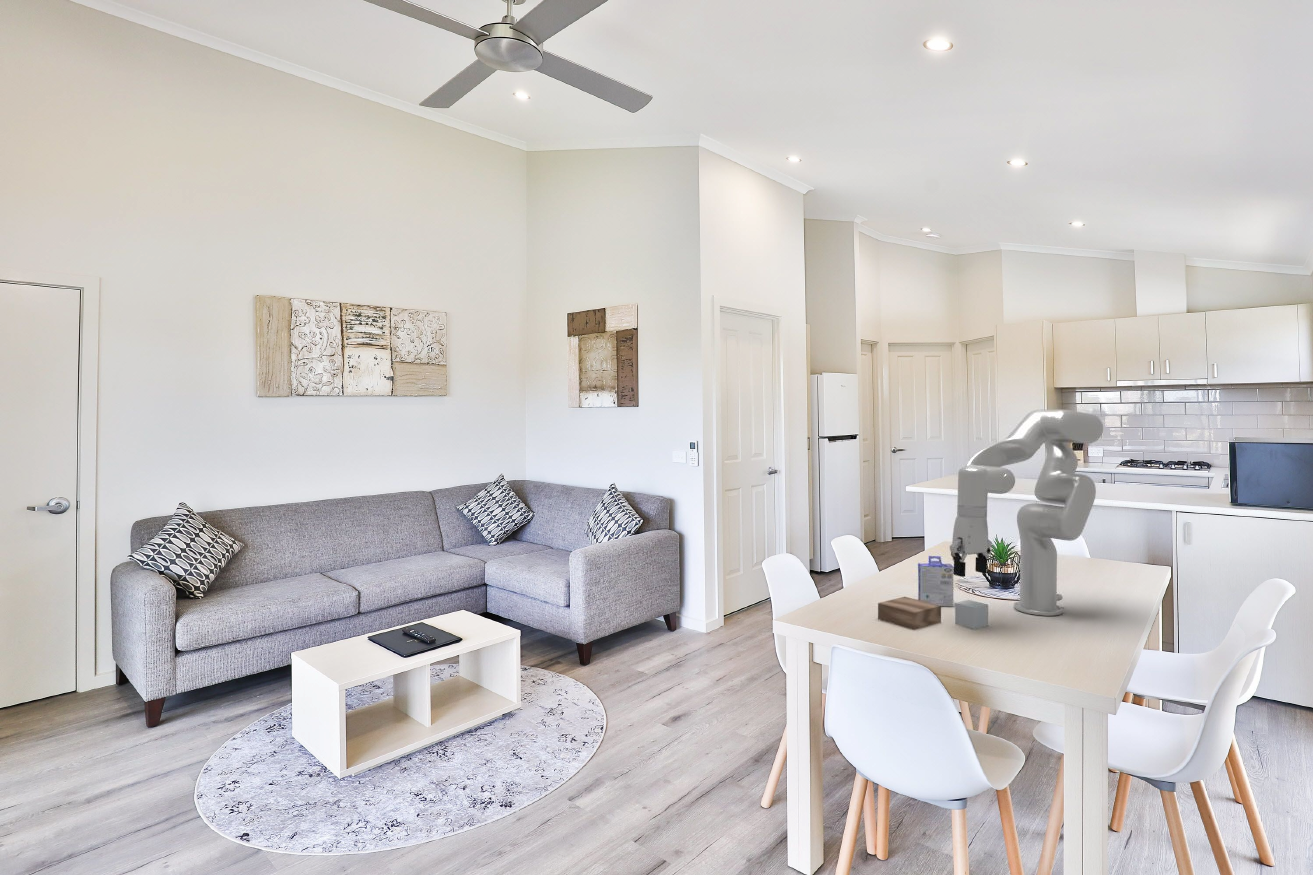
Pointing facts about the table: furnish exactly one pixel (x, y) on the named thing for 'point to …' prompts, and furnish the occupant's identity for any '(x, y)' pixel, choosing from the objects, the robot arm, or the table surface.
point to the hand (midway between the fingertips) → (970, 574)
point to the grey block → (971, 614)
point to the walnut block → (909, 612)
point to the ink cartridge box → (935, 582)
